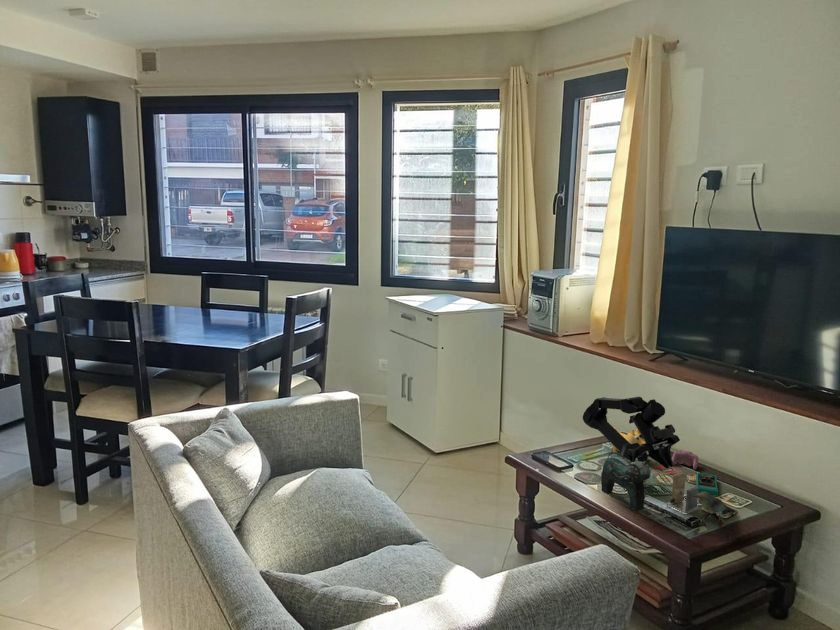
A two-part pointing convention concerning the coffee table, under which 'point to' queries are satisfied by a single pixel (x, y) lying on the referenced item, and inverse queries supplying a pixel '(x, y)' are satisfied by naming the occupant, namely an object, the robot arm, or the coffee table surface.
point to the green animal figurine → (626, 478)
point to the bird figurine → (713, 507)
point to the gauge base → (687, 502)
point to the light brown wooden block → (678, 487)
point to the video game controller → (685, 454)
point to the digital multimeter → (707, 483)
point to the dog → (631, 438)
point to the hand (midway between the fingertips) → (670, 467)
